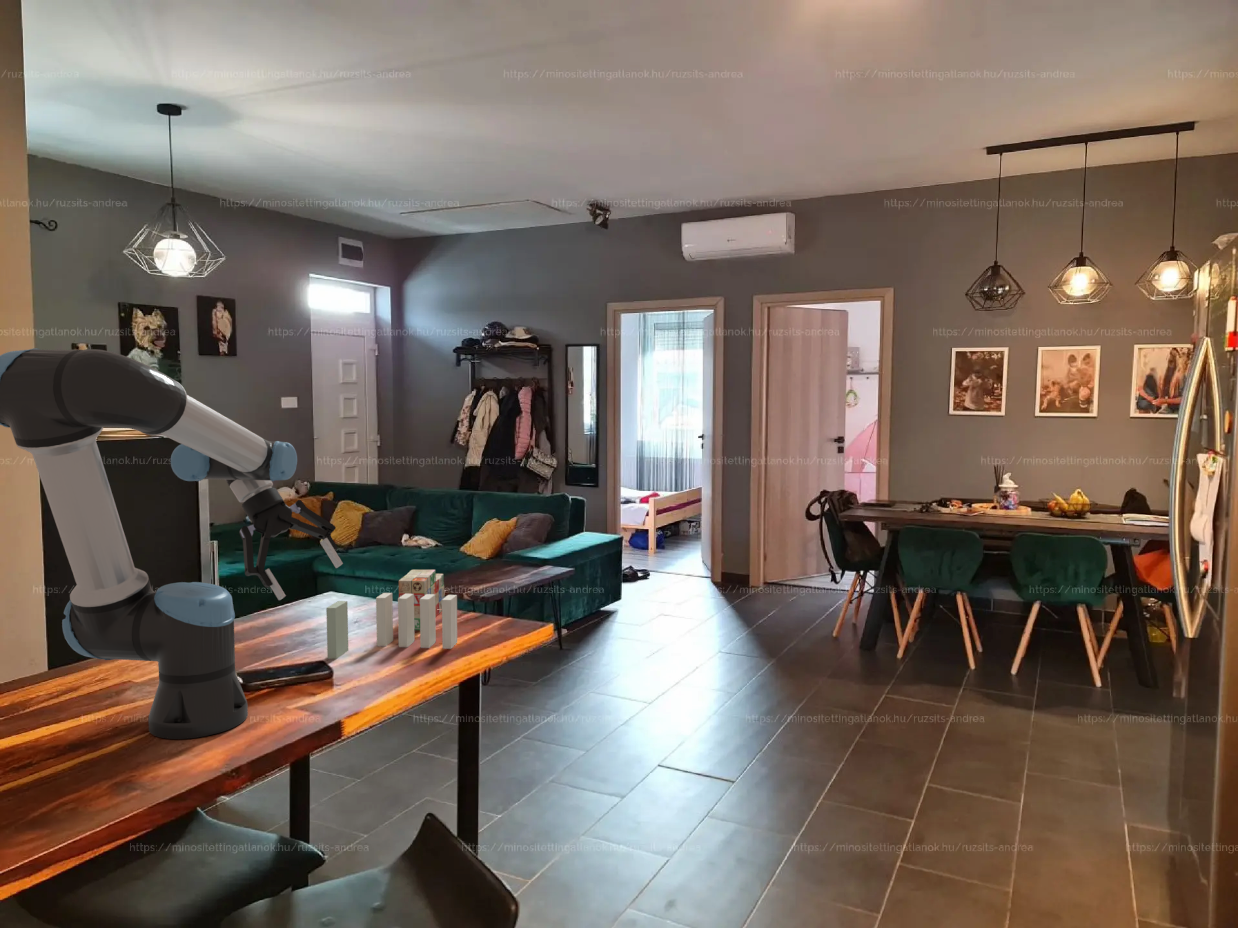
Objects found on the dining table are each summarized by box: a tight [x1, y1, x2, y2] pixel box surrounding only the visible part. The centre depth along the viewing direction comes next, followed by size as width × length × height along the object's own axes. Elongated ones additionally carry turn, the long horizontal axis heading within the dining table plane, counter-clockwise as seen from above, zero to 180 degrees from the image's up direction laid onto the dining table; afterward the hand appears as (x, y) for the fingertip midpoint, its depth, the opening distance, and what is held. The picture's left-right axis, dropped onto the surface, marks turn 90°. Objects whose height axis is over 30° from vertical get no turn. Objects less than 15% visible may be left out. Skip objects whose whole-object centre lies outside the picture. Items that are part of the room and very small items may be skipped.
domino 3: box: [419, 594, 437, 649], centre depth 187 cm, size 2×5×11 cm, turn 175°
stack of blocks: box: [398, 569, 445, 631], centre depth 209 cm, size 21×6×12 cm, turn 179°
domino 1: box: [375, 592, 394, 647], centre depth 188 cm, size 2×5×11 cm, turn 175°
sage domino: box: [325, 600, 349, 660], centre depth 180 cm, size 2×6×11 cm, turn 175°
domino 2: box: [397, 594, 415, 648], centre depth 188 cm, size 2×5×11 cm, turn 175°
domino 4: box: [441, 594, 458, 650], centre depth 187 cm, size 2×5×11 cm, turn 175°
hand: (311, 581), depth 174 cm, fingers open, 13 cm apart
